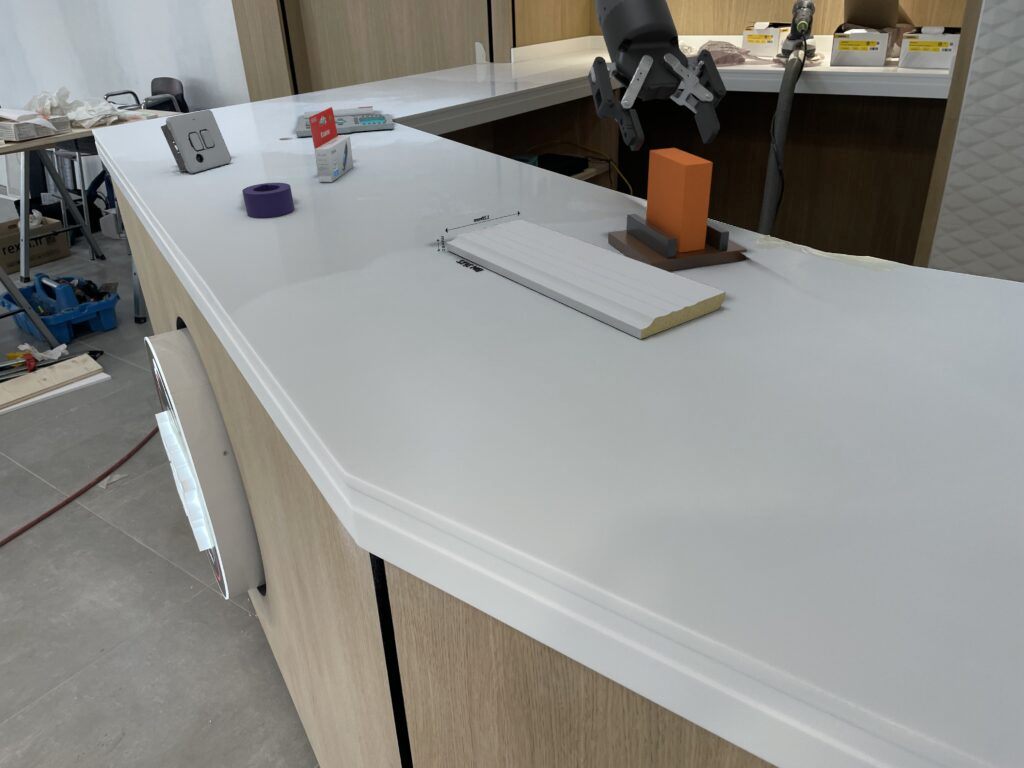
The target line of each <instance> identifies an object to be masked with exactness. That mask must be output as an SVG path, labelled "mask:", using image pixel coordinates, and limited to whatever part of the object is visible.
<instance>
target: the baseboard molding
mask: <svg viewBox="0 0 1024 768" xmlns="http://www.w3.org/2000/svg"><path fill="white" fill-rule="evenodd" d="M520 214H521V212H520V211H518V210H517V213H513V214H509V215H505V216H500V217H497V218H494V219H490V215H489V214H487V215H484V216H481V217H478V218H474V219H473V223H471V224H467V225H462V226H459V227H453V228H451V229H448V228H445V230H444V231H445V232H446V234H448V233H449V231H452V230H455V229H460V228H465V227H467V226H473V225H477V224H480V223H485V222H486V223H487V222H490V221H493V220H497V219H503V218H507V217H510V216H514V215H517V217H519V216H520ZM440 240H441V248H440V246H439V245H440V244H439V242H440ZM436 242H437V247H438V249H437V252H440V251H442V252H445V251H446V250H447V251H449V252H451V253H453V254H455V255H457V256H460V257H462V258H464V259H460V260H459V261H458V260H455V262H456V263H458V264H460V265H462V267H464V266H465V267H466V268H469V269H472V270H473V271H475V273H477V272H482V271H484V268H485V269H488V270H490V271H492V272H494V273H496V274H499V275H501V276H503V277H505V278H508V279H510V280H512V281H514V282H516V283H517V284H519V285H522V286H524V287H527V288H529V289H531V290H533V291H535V292H538V293H540V294H542V295H544V296H546V297H548V298H551V299H553V300H555V301H557V302H559V303H561V304H564V305H566V306H567V307H570V308H572V309H574V310H577V311H578V312H580V313H583V314H585V315H587V316H590V317H592V318H594V319H596V320H598V321H601V322H603V323H605V324H606V325H608V326H610V327H614V328H616V329H618V330H620V331H621V332H624V333H626V334H629V335H631V336H633V337H635V338H637V339H639V340H643V339H644V338H647V337H650V336H652V335H656V334H658V333H661V332H663V331H665V330H668V329H671V328H674V327H676V326H678V325H681V324H684V323H686V322H689V321H691V320H694V319H697V318H699V317H702V316H705V315H707V314H710V313H713V312H714V311H717V310H718V309H720V308H721V307H722V305H723V304H724V301H725V298H726V291H724V290H721V289H718V288H716V287H712V286H709V285H707V284H704V283H702V282H699V281H696V280H693V279H690V278H688V277H684V276H681V275H679V274H676V273H673V272H671V271H665V270H662V269H659V268H656V267H654V266H651V265H648V264H645V263H642V262H640V261H637V260H634V259H631V258H629V257H627V256H626V255H624V254H623V255H622V254H620V253H617V252H614V251H611V250H609V249H607V248H606V249H605V248H603V247H600V246H597V245H594V244H591V243H588V242H586V241H583V240H580V239H579V238H575V237H572V236H569V235H566V234H563V233H561V232H558V231H555V230H553V229H550V228H546V227H543V226H541V225H538V224H535V223H532V222H530V221H527V220H524V219H522V218H519V219H515V220H511V221H507V222H503V223H498V224H495V225H494V226H493V225H492V226H490V227H483V228H481V229H477V230H475V229H474V230H473V229H472V230H471V231H469V232H465V233H464V232H462V233H457V234H456V235H455V237H454V238H453V239H452V240H449V241H446V242H445V239H444V236H443V235H441V236H440V239H438V238H437V240H436ZM465 259H466V260H465ZM467 260H468V261H467ZM470 261H471V262H473V263H471V262H470ZM474 264H477V265H479V266H477V265H474ZM480 266H481V267H480ZM482 267H483V268H482Z"/></svg>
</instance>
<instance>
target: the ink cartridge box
mask: <svg viewBox="0 0 1024 768" xmlns="http://www.w3.org/2000/svg"><path fill="white" fill-rule="evenodd" d="M333 110H334V109H333V106H330V107H328V108H326V109H323V110H321V111H322V112H319V113H317V114H315V115H313V116H311V117H309V118H308V119H309V124H310V129H311V134H312V136H311V139H312V143H313V149H314V156H315V157H314V158H315V165H316V173H317V180H318V182H319V183H332V182H335V181H336V180H337V179H339V178H340V177H342V176H343V175H344V174H346V173H347V172H348V171H350V170H351V169H352V168H354V160H353V159H354V158H353V150H352V143H351V136H350V135H338V134H337V130H336V124H335V118H334V114H333ZM321 117H323V118H325V120H326V123H325V124H323V125H321V126H320V123H319V122H320V120H321Z"/></svg>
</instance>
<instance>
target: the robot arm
mask: <svg viewBox="0 0 1024 768" xmlns="http://www.w3.org/2000/svg"><path fill="white" fill-rule="evenodd" d="M593 2H594V9H595V15H596V18H597V23H598V26H599V27H600V31H601V34H602V37H603V40H604V43H605V46H606V49H607V50H606V51H607V53H608V56H609V59H610V61H609V62H606V59H605V58H604V57H602V56H600V55H599V56H596V57H595V58H594V60H593V62H592V65H591V67H590V70H589V72H588V75H587V76H588V77H587V78H588V81H589V86H590V90H591V95H592V99H593V102H594V107H595V111H596V115H597V117H598V118H600V119H601V120H605V119H607V118H611V119H614V120H615V121H616V122H617V124H618V127H619V130H620V133H621V136H622V140H623V142H624V144H625V145H626V146H627V147H629V148H630V150H631V151H632V152H635V151H640V149H641V147H642V146H643V144H644V142H645V134H644V131H643V128H642V126H641V125H642V124H641V122H640V119H639V116H638V112H637V110H636V108H633V109H632V107H633V105H634V103H635V100H636V99H637V98H639V99H641V100H642V102H649V101H652V100H655V99H658V100H669V99H671V100H672V101H673V102H675V103H676V104H677V105H678V106H685V107H687V108H688V109H689V110H690V111H691V112H692V113H694V114H695V115H694V117H693V118H694V120H695V123H696V125H697V129H698V132H699V134H700V137H701V140H702V143H703V144H712V143H713V142H714V140H715V139H716V137H717V136H718V134H719V131H720V130H721V124H720V121H719V118H718V115H717V113H716V109H717V107H718V106H719V103H720V102H721V101H722V99H723V98H724V97H725V96H726V94H727V88H726V85H725V84H724V81H723V78H722V76H721V75H720V72H719V70H718V68H717V65H716V63H715V60H714V58H713V56H712V53H711V52H710V51H709V50H708V49H702V50H700V51H699V54H698V55H694V56H693V55H692V56H687V55H686V54H685V53H684V52H683V51H682V50H681V47H680V44H679V42H680V41H679V34H678V31H677V28H676V25H675V22H674V19H673V16H672V13H671V10H670V7H669V5H668V2H667V0H593ZM612 78H614V79H615V80H616V81H617V82H618V83H620V85H622V86H623V87H624V88H625V89H626V91H625V92H624V95H623V97H622V99H621V100H620V99H616V98H615V94H614V90H613V85H612V81H611V80H612ZM682 82H683V84H684V86H685V87H684V89H683V90H680V89H679V87H680V85H681V83H682ZM693 95H694V96H695V97H696V98H695V97H694V96H693Z"/></svg>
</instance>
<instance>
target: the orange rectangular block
mask: <svg viewBox="0 0 1024 768" xmlns="http://www.w3.org/2000/svg"><path fill="white" fill-rule="evenodd" d="M713 164H714V162H712V161H711V160H708V159H706V158H703V157H700V156H698V155H695V154H692V153H689V152H687V151H684V150H681V149H679V148H676V147H669V148H668V147H667V148H657V149H650V150H649V159H648V176H647V177H648V178H647V196H646V213H645V214H646V216H645V220H647V221H648V222H650V223H652V224H653V225H655V226H657V227H658V228H660V229H662V230H663V231H665V232H667V233H668V234H670V235H672V236H673V237H675V238H677V247H676V251H677V252H679V253H681V252H688V251H695V250H702V249H705V239H706V229H707V220H708V217H709V207H710V196H711V195H710V194H711V187H712V185H711V184H712V175H713V166H714V165H713Z"/></svg>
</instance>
